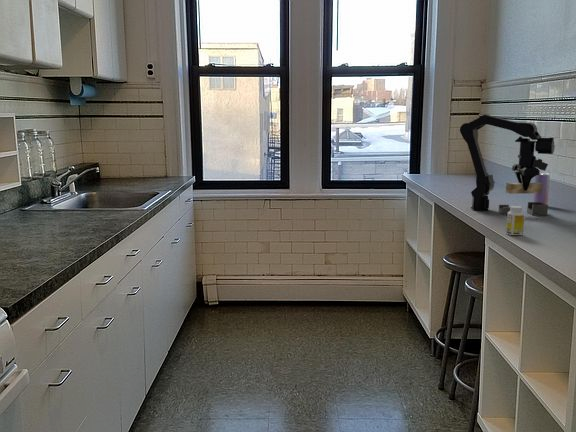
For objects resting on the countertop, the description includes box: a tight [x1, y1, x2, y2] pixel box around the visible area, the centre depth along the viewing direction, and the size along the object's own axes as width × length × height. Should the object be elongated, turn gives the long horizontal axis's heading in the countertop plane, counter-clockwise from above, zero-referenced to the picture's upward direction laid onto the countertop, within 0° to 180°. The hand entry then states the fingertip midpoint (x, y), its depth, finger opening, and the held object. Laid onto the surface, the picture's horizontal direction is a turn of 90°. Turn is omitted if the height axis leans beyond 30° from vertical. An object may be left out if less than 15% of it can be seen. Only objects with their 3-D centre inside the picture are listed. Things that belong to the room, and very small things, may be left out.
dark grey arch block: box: [498, 204, 511, 216], centre depth 249 cm, size 4×8×3 cm, turn 174°
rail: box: [505, 182, 543, 195], centre depth 247 cm, size 14×4×4 cm, turn 95°
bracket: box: [526, 201, 549, 217], centre depth 248 cm, size 6×8×4 cm
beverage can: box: [533, 172, 551, 206], centre depth 266 cm, size 6×6×15 cm
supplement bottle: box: [505, 205, 525, 236], centre depth 207 cm, size 6×6×10 cm
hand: (523, 189), depth 247 cm, fingers closed on rail, 4 cm apart
